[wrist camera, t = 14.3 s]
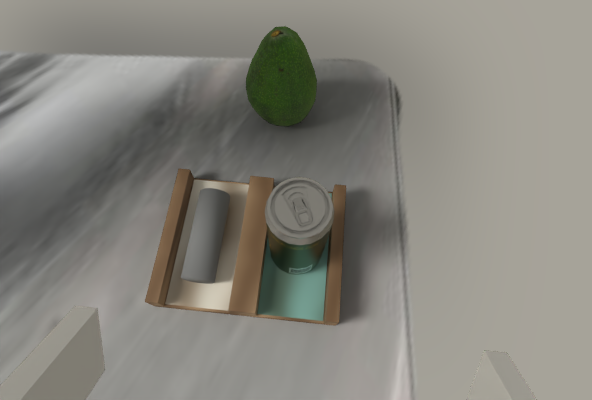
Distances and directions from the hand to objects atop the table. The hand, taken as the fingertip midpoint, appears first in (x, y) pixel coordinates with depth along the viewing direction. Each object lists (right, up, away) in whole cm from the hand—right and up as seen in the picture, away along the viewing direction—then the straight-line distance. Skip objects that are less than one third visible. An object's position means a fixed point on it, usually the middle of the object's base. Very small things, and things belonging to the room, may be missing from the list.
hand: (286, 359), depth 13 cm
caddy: (-4, 0, +27) cm, 28 cm away
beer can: (0, 0, +26) cm, 26 cm away
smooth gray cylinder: (-8, +1, +26) cm, 28 cm away
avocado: (-1, +16, +34) cm, 38 cm away
